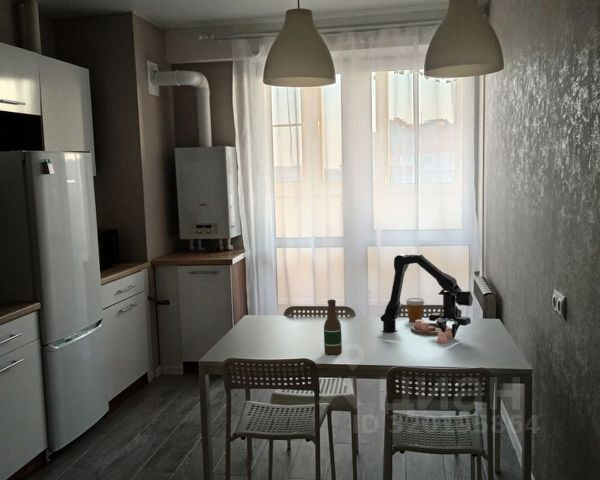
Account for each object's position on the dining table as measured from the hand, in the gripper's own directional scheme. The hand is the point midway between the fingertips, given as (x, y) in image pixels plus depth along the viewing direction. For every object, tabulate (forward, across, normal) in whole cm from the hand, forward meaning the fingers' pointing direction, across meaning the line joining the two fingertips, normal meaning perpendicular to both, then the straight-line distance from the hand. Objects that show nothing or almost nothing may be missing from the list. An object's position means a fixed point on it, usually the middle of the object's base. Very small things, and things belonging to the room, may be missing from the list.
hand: (449, 337), depth 283 cm
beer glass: (+1, +30, -20) cm, 36 cm away
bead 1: (+1, -1, +9) cm, 9 cm away
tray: (+1, +14, -7) cm, 16 cm away
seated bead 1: (0, +18, -4) cm, 19 cm away
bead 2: (+1, 0, 0) cm, 1 cm away
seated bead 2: (0, +14, -2) cm, 14 cm away
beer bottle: (+1, +31, +49) cm, 58 cm away
